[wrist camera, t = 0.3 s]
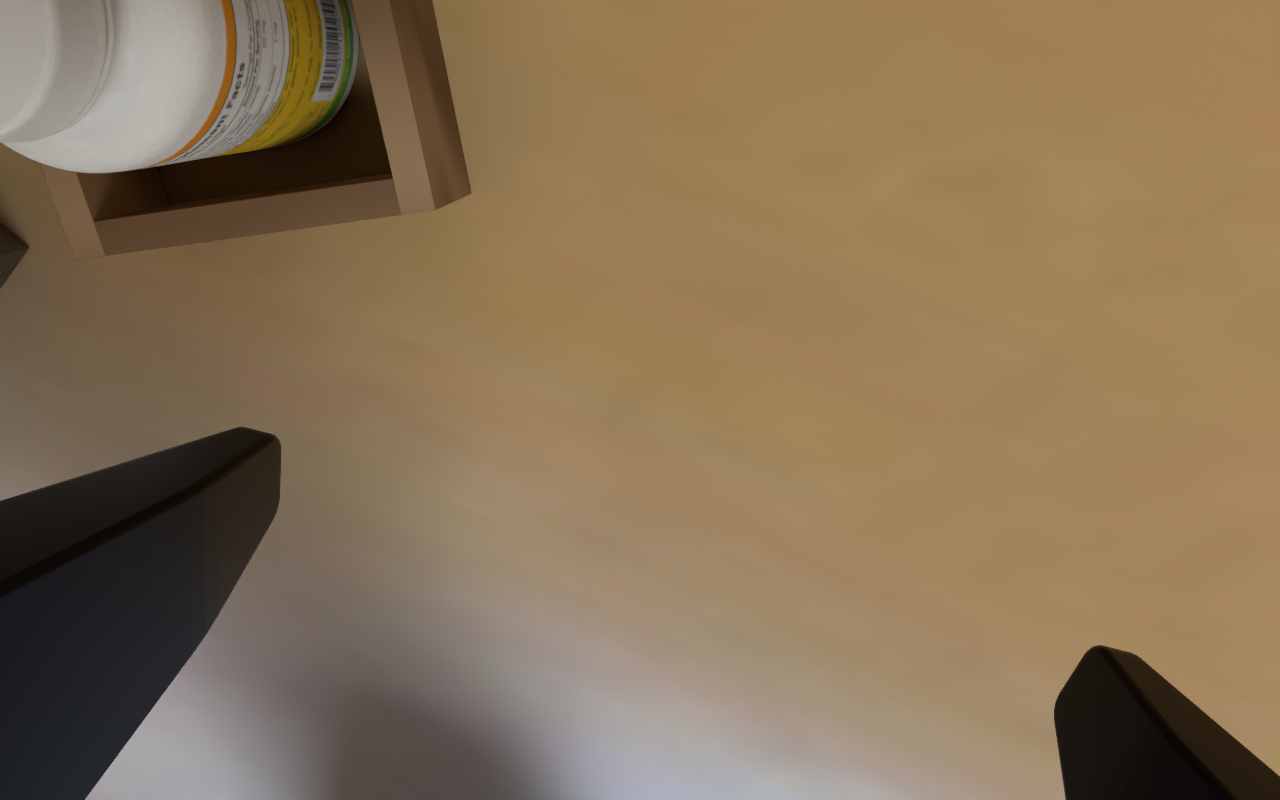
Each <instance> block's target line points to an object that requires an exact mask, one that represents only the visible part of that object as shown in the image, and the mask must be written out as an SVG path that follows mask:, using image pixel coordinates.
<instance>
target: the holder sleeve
mask: <svg viewBox="0 0 1280 800" xmlns="http://www.w3.org/2000/svg"><path fill="white" fill-rule="evenodd" d="M352 4H353V9H354V13H355V17H356V22H357V26H358V30H359V34H360V39H361V43H362V47H363V52H364V56H365V60H366V65H367V69H368V73H369V77H370V82H371V86H372V90H373V95H374V99H375V103H376V107H377V112H378V116H379V120H380V125H381V129H382V133H383V137H384V142H385V146H386V150H387V155H388V159H389V163H390V167H391V172H390V173H383V174H376V175H370V176H363V177H356V178H349V179H342V180H335V181H328V182H321V183H315V184H308V185H301V186H294V187H287V188H280V189H273V190H266V191H259V192H253V193H246V194H239V195H232V196H225V197H218V198H211V199H204V200H198V201H191V202H184V203H177V204H169V201H168V198H167V195H166V191H165V188H164V185H163V182H162V179H161V176H160V173H159V170H158V167H157V166H155V167H150V168H145V169H136V170H130V171H121V172H111V173H82V172H74V171H67V170H63V169H59V168H55V167H52V166H48V165H45V164H43V163H40V162H39V163H40V166H41V169H42V171H43V174H44V177H45V179H46V182H47V185H48V188H49V190H50V193H51V196H52V199H53V201H54V204H55V207H56V210H57V212H58V215H59V218H60V220H61V223H62V226H63V229H64V231H65V234H66V237H67V240H68V242H69V245H70V248H71V251H72V253H73V256H74V259H75V260H78V259H85V258H92V257H99V256H106V255H114V254H121V253H128V252H135V251H143V250H150V249H157V248H164V247H171V246H179V245H186V244H193V243H200V242H208V241H215V240H222V239H229V238H236V237H244V236H251V235H258V234H265V233H273V232H280V231H287V230H294V229H301V228H309V227H316V226H323V225H330V224H338V223H345V222H352V221H359V220H367V219H374V218H381V217H388V216H395V215H403V214H410V213H417V212H424V211H432V210H436V209H439V208H441V207H443V206H445V205H447V204H449V203H452V202H454V201H456V200H458V199H460V198H463V197H465V196H467V195H469V194H471V190H470V185H469V180H468V175H467V170H466V165H465V161H464V156H463V151H462V146H461V141H460V136H459V131H458V126H457V121H456V117H455V112H454V107H453V102H452V97H451V92H450V87H449V82H448V78H447V73H446V68H445V63H444V58H443V53H442V48H441V43H440V38H439V34H438V29H437V24H436V19H435V14H434V9H433V4H432V0H352Z"/></svg>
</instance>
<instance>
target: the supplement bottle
mask: <svg viewBox="0 0 1280 800" xmlns="http://www.w3.org/2000/svg"><path fill="white" fill-rule="evenodd" d="M358 58H359V33H358V26H357V22H356V17H355V13H354V9H353V4H352V1H351V0H0V143H3V144H4V145H6V146H7V147H9V148H11V149H12V150H14V151H16V152H18V153H20V154H22V155H24V156H26V157H28V158H30V159H32V160H35V161H37V162H40V163H43V164H45V165H48V166H52V167H55V168H59V169H63V170H67V171H74V172H82V173H111V172H121V171H130V170H136V169H145V168H150V167H155V166H162V165H168V164H174V163H180V162H186V161H191V160H197V159H203V158H209V157H215V156H222V155H228V154H235V153H242V152H248V151H254V150H261V149H267V148H274V147H278V146H283V145H287V144H291V143H294V142H297V141H299V140H302V139H304V138H306V137H308V136H310V135H312V134H314V133H315V132H317V131H319V130H320V129H321V128H323V127H324V126H325V125H326V124H328V123H329V122H330V121H331V120H332V119H333V118H334V116H335V115H336V114H337V113H338V112H339V110H340V109H341V107H342V106H343V104H344V102H345V101H346V99H347V97H348V95H349V93H350V90H351V87H352V85H353V82H354V79H355V75H356V71H357V66H358Z"/></svg>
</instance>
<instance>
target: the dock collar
mask: <svg viewBox="0 0 1280 800" xmlns="http://www.w3.org/2000/svg"><path fill="white" fill-rule="evenodd" d="M28 248H29V247H27V246H26V245H25V244H24V243H23V242H22V241H20V240H19V239H18V238H17V237H16V236H14V235H13V234H12V233H11V232H10V231H9V230H7V229H6V228H5V227H4V226H3V225H2V224H0V288H1V287H2V285H3V284H4V283H5V281H6V280H7V278H8V277H9V275H10V274H11V273H12V271H13V270H14V268H15V267H16V265H17V264H18V263H19V261H20V260H21V258H22V257H23V255H24V254H25V252H26V251H27V250H28Z"/></svg>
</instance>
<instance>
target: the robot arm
mask: <svg viewBox="0 0 1280 800" xmlns="http://www.w3.org/2000/svg"><path fill="white" fill-rule="evenodd" d="M280 474H281V445H280V441H279V439H278V438H277V437H276V436H275V435H273V434H269V433H266V432H262V431H258V430H254V429H250V428H246V427H237V428H234V429H230V430H227V431H224V432H221V433H217V434H214V435H211V436H208V437H205V438H201V439H198V440H195V441H192V442H189V443H185V444H182V445H179V446H176V447H172V448H169V449H166V450H163V451H160V452H156V453H153V454H150V455H147V456H144V457H140V458H137V459H134V460H131V461H127V462H124V463H121V464H118V465H115V466H111V467H108V468H105V469H102V470H98V471H95V472H92V473H89V474H86V475H82V476H79V477H76V478H73V479H69V480H66V481H63V482H60V483H57V484H53V485H50V486H47V487H44V488H40V489H37V490H34V491H31V492H28V493H24V494H21V495H18V496H15V497H11V498H8V499H5V500H2V501H0V800H85V798H86V797H87V796H88V794H89V793H90V792H91V790H92V789H93V788H94V786H95V785H96V784H97V782H98V781H99V780H100V778H101V777H102V775H103V774H104V773H105V771H106V770H107V769H108V767H109V766H110V765H111V763H112V762H113V761H114V759H115V758H116V757H117V755H118V754H119V753H120V751H121V750H122V748H123V747H124V746H125V744H126V743H127V742H128V740H129V739H130V738H131V736H132V735H133V734H134V732H135V731H136V730H137V728H138V727H139V726H140V724H141V723H142V721H143V720H144V719H145V717H146V716H147V715H148V713H149V712H150V711H151V709H152V708H153V707H154V705H155V704H156V703H157V701H158V700H159V698H160V697H161V696H162V694H163V693H164V692H165V690H166V689H167V688H168V686H169V685H170V684H171V682H172V681H173V680H174V678H175V677H176V676H177V674H178V673H179V671H180V670H181V669H182V667H183V666H184V665H185V663H186V662H187V661H188V659H189V658H190V657H191V655H192V654H193V653H194V651H195V650H196V648H197V647H198V645H199V644H200V643H201V641H202V640H203V638H204V637H205V635H206V634H207V632H208V631H209V629H210V628H211V626H212V624H213V623H214V621H215V619H216V618H217V616H218V614H219V613H220V611H221V609H222V608H223V606H224V604H225V602H226V601H227V599H228V597H229V595H230V594H231V592H232V590H233V588H234V587H235V585H236V583H237V582H238V580H239V578H240V576H241V575H242V573H243V571H244V569H245V568H246V566H247V564H248V562H249V561H250V559H251V557H252V556H253V554H254V552H255V550H256V549H257V547H258V545H259V543H260V542H261V540H262V538H263V536H264V535H265V533H266V531H267V530H268V528H269V526H270V524H271V523H272V521H273V519H274V517H275V514H276V512H277V509H278V505H279V500H280ZM1054 722H1055V729H1056V736H1057V743H1058V750H1059V757H1060V764H1061V770H1062V777H1063V784H1064V791H1065V798H1066V800H1280V776H1279V775H1277V774H1276V773H1275V772H1274V771H1273V770H1272V769H1270V768H1269V767H1268V766H1267V765H1266V764H1264V763H1263V762H1262V761H1261V760H1260V759H1259V758H1257V757H1256V756H1255V755H1254V754H1253V753H1252V752H1250V751H1249V750H1248V749H1247V748H1246V747H1244V746H1243V745H1242V744H1241V743H1240V742H1239V741H1237V740H1236V739H1235V738H1234V737H1233V736H1231V735H1230V734H1229V733H1228V732H1227V731H1226V730H1224V729H1223V728H1222V727H1221V726H1220V725H1219V724H1217V723H1216V722H1215V721H1214V720H1213V719H1211V718H1210V717H1209V716H1208V715H1207V714H1206V713H1204V712H1203V711H1202V710H1201V709H1200V708H1199V707H1197V706H1196V705H1195V704H1194V703H1193V702H1191V701H1190V700H1189V699H1188V698H1187V697H1186V696H1184V695H1183V694H1182V693H1181V692H1180V691H1178V690H1177V689H1176V688H1175V687H1174V686H1173V685H1171V684H1170V683H1169V682H1168V681H1167V680H1166V679H1164V678H1163V677H1162V676H1161V675H1160V674H1158V673H1157V672H1156V671H1155V670H1154V669H1153V668H1151V667H1150V666H1149V665H1148V664H1147V663H1146V662H1144V661H1143V660H1142V659H1141V658H1140V657H1138V656H1137V655H1135V654H1133V653H1130V652H1126V651H1122V650H1118V649H1114V648H1110V647H1106V646H1102V645H1098V646H1094V647H1092V648H1090V649H1089V650H1088V651H1087V652H1086V653H1085V655H1084V656H1083V658H1082V659H1081V661H1080V662H1079V664H1078V665H1077V667H1076V668H1075V670H1074V672H1073V673H1072V675H1071V676H1070V678H1069V679H1068V681H1067V682H1066V684H1065V686H1064V687H1063V689H1062V690H1061V692H1060V693H1059V695H1058V697H1057V700H1056V703H1055V708H1054Z"/></svg>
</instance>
